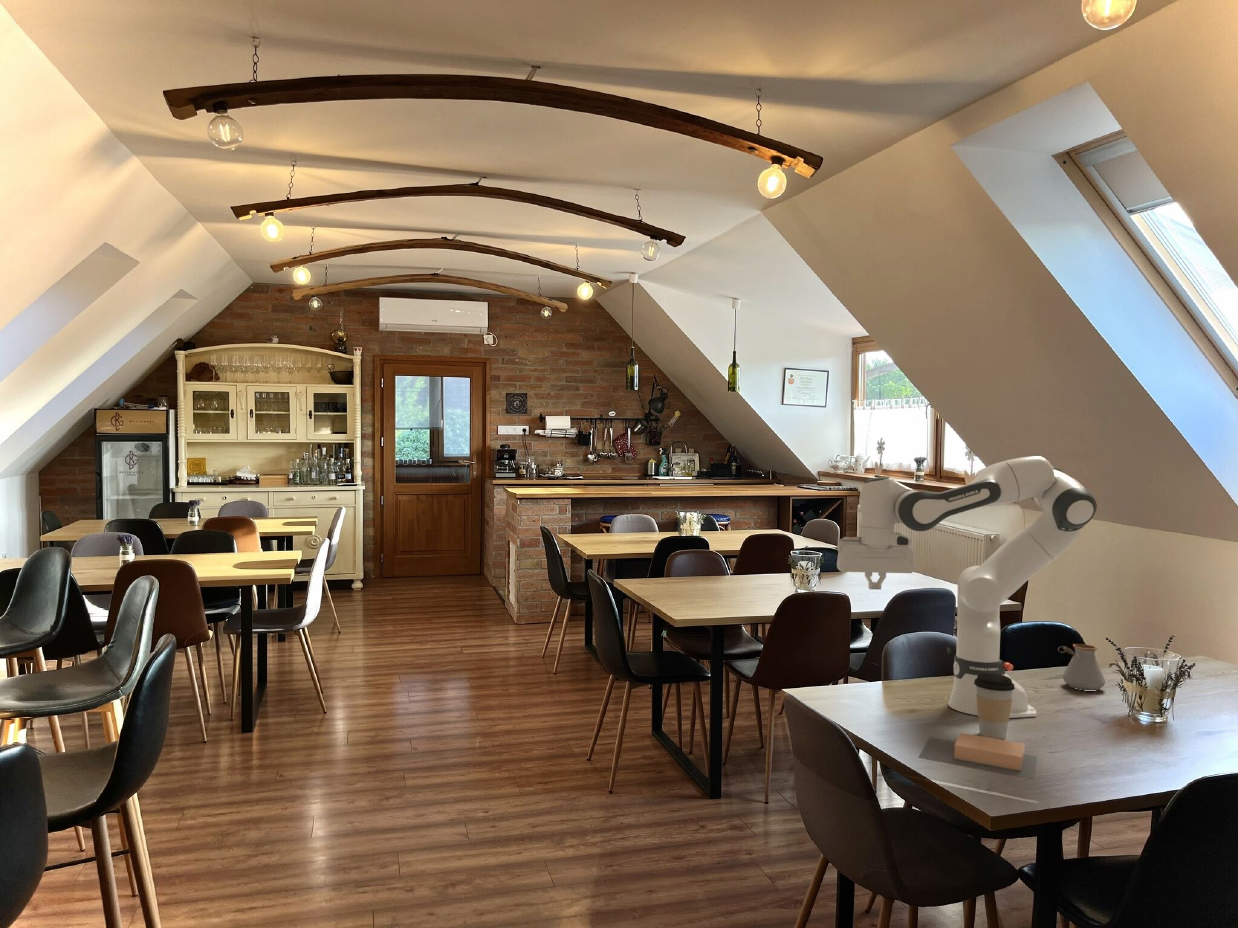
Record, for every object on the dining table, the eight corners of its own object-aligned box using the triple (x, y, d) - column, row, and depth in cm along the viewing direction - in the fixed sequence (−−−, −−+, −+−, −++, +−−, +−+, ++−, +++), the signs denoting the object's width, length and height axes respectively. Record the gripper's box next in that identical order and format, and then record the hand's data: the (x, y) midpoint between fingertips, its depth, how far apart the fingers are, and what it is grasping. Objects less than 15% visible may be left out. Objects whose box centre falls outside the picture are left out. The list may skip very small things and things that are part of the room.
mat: (918, 759, 199) (918, 757, 199) (929, 738, 213) (929, 736, 213) (1033, 781, 187) (1033, 778, 187) (1037, 758, 202) (1037, 755, 202)
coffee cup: (1010, 746, 209) (1012, 685, 209) (968, 738, 214) (971, 678, 214) (1015, 735, 217) (1017, 676, 217) (975, 727, 222) (977, 670, 222)
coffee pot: (1072, 680, 270) (1074, 633, 270) (1111, 689, 261) (1113, 640, 261) (1039, 691, 257) (1041, 642, 256) (1079, 701, 248) (1081, 650, 247)
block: (954, 745, 198) (1021, 757, 191) (960, 732, 207) (1024, 743, 200) (954, 759, 198) (1021, 771, 191) (959, 746, 207) (1024, 757, 200)
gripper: (841, 538, 225) (839, 590, 226) (918, 539, 226) (916, 591, 226) (834, 535, 232) (832, 586, 232) (909, 536, 232) (907, 587, 232)
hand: (874, 589), depth 229 cm, fingers closed
